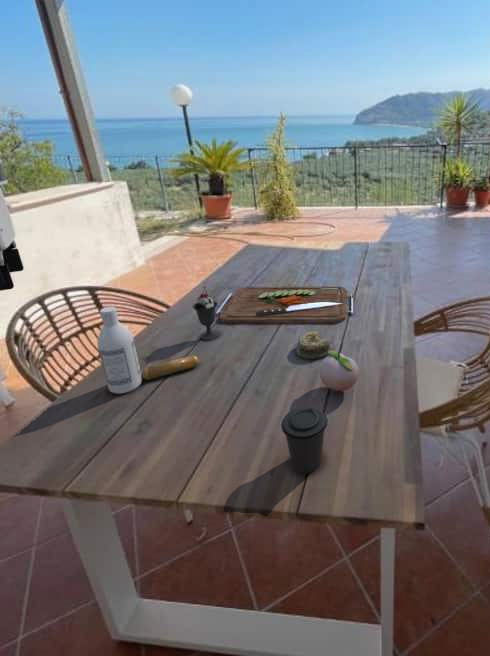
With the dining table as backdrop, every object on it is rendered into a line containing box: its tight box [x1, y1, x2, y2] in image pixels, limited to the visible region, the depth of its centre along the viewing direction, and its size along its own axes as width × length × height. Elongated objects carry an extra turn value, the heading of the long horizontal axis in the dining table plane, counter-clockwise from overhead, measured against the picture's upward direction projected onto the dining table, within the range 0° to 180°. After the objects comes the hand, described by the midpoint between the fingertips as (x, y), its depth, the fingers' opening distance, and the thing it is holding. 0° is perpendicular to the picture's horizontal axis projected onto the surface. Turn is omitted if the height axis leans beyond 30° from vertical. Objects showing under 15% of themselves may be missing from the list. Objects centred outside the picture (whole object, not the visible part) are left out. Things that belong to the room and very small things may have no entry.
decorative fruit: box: [318, 350, 360, 392], centre depth 89 cm, size 9×8×10 cm
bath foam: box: [96, 306, 143, 395], centre depth 88 cm, size 7×7×20 cm
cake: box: [296, 331, 333, 360], centre depth 106 cm, size 10×10×5 cm
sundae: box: [192, 286, 219, 341], centre depth 111 cm, size 7×7×15 cm
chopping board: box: [215, 286, 354, 324], centre depth 134 cm, size 45×27×3 cm, turn 91°
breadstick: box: [141, 355, 200, 381], centre depth 96 cm, size 13×3×3 cm, turn 122°
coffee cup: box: [280, 405, 329, 474], centre depth 70 cm, size 8×8×10 cm
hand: (7, 280), depth 65 cm, fingers open, 9 cm apart
